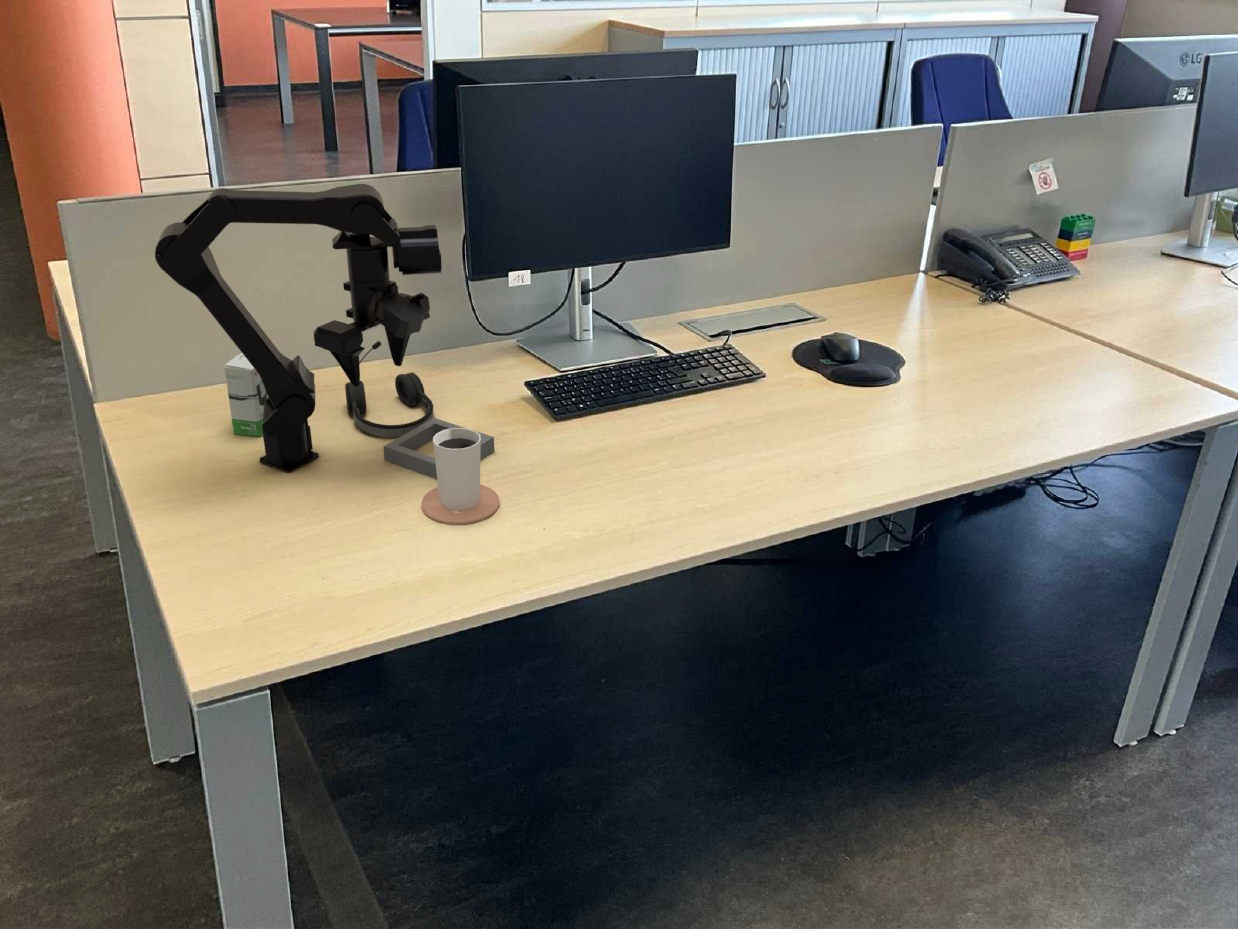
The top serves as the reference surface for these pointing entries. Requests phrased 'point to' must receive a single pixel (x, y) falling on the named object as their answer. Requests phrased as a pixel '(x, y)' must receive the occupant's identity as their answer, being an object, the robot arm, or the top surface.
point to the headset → (408, 393)
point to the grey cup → (458, 468)
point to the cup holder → (405, 445)
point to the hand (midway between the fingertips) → (377, 375)
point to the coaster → (473, 515)
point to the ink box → (245, 396)
